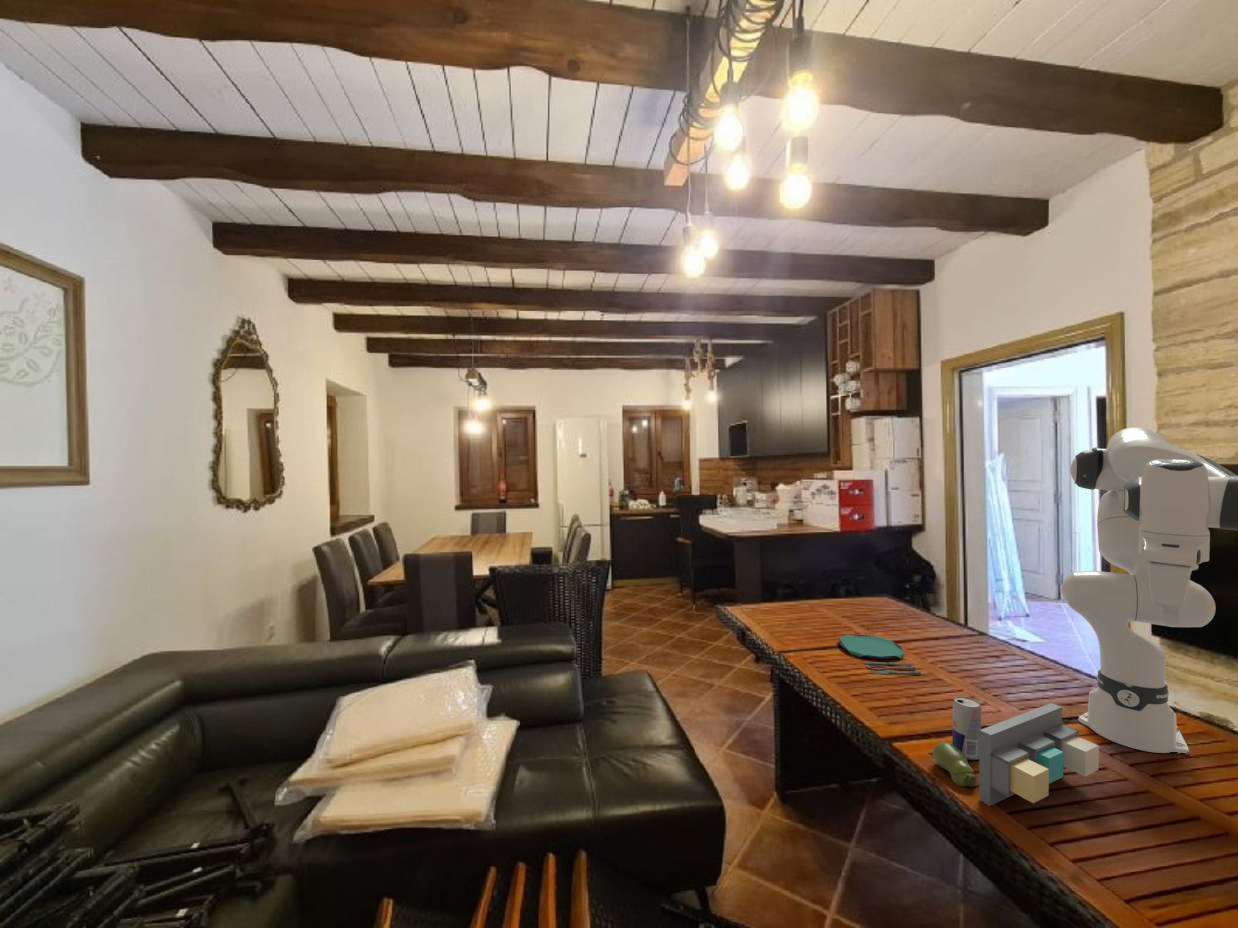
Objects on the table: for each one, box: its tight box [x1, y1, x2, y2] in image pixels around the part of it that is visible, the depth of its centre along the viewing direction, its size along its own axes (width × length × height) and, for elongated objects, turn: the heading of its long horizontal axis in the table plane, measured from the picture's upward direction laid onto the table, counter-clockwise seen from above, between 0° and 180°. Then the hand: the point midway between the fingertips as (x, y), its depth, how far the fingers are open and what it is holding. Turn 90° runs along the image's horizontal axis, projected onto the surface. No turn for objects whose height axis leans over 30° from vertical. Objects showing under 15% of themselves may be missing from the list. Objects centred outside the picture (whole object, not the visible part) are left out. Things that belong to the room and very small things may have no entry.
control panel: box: [978, 702, 1080, 807], centre depth 104 cm, size 25×5×14 cm, turn 115°
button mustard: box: [1010, 758, 1050, 804], centre depth 97 cm, size 5×4×5 cm
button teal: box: [1037, 746, 1064, 785], centre depth 102 cm, size 5×4×5 cm
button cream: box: [1062, 736, 1100, 777], centre depth 104 cm, size 5×4×5 cm
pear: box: [932, 741, 977, 788], centre depth 109 cm, size 6×5×10 cm
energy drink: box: [951, 696, 982, 761], centre depth 117 cm, size 5×5×12 cm
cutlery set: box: [838, 634, 922, 676], centre depth 173 cm, size 20×30×2 cm, turn 173°
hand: (1171, 622), depth 95 cm, fingers closed
